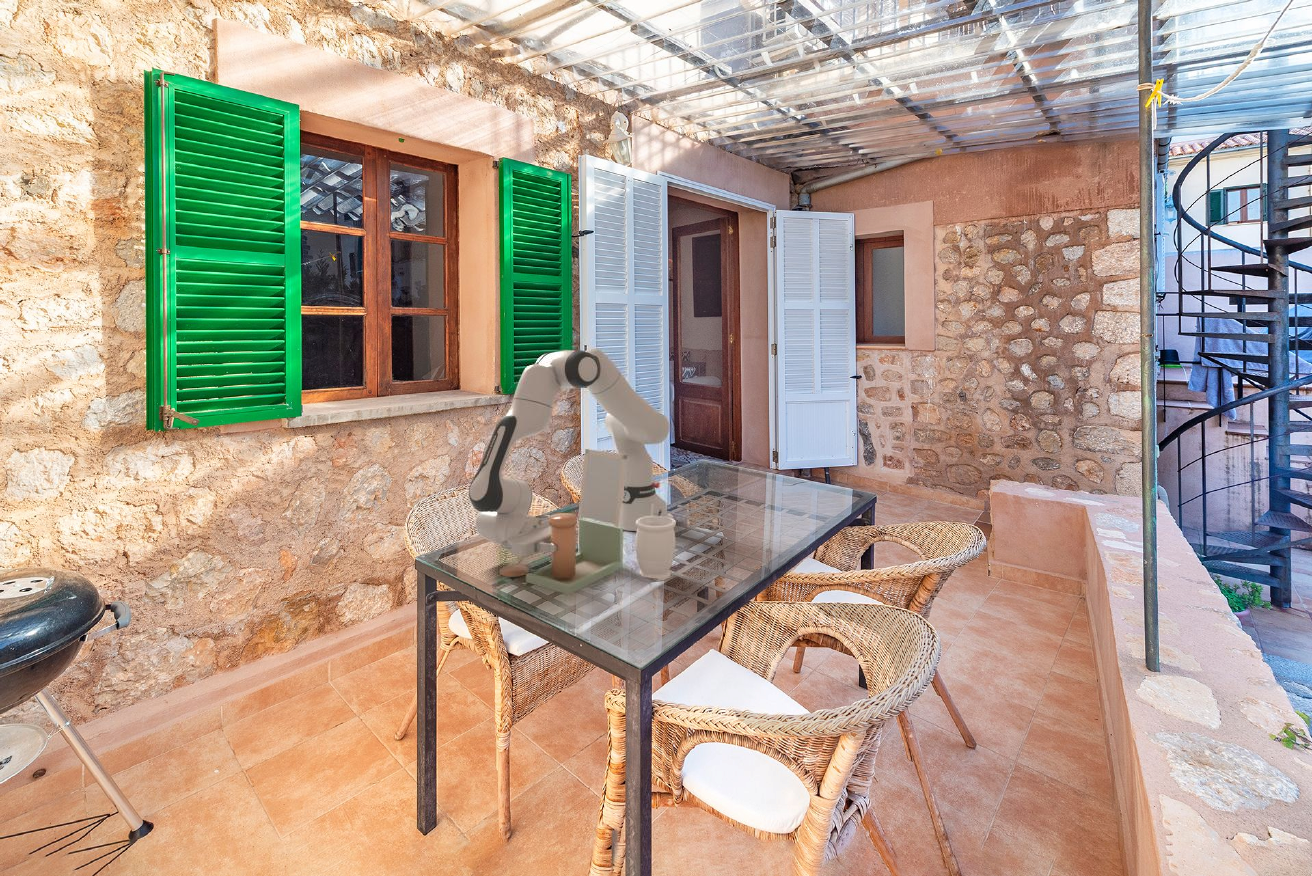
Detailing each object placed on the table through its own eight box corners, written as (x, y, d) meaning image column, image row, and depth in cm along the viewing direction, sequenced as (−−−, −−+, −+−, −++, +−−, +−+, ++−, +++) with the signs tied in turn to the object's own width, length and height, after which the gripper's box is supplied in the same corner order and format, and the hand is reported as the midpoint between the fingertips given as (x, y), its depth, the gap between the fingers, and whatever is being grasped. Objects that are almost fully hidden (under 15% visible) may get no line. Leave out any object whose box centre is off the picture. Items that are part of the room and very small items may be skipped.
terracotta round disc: (514, 567, 172) (514, 562, 172) (535, 573, 168) (535, 568, 168) (493, 575, 166) (493, 571, 166) (514, 582, 162) (514, 577, 162)
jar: (648, 565, 175) (649, 512, 173) (681, 573, 170) (683, 519, 167) (627, 578, 166) (627, 522, 164) (661, 586, 161) (662, 529, 158)
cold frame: (581, 559, 179) (581, 518, 177) (622, 570, 171) (622, 527, 169) (526, 585, 160) (525, 539, 158) (568, 598, 153) (568, 550, 151)
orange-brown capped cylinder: (561, 566, 167) (561, 511, 165) (582, 571, 164) (582, 515, 161) (544, 575, 162) (543, 518, 159) (565, 580, 158) (565, 522, 156)
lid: (577, 517, 175) (579, 517, 175) (618, 526, 168) (619, 526, 168) (585, 448, 174) (587, 449, 175) (626, 455, 167) (627, 455, 168)
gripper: (495, 533, 159) (537, 543, 152) (551, 513, 176) (590, 521, 169) (496, 557, 160) (537, 568, 153) (551, 534, 177) (591, 544, 170)
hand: (566, 544), depth 161 cm, fingers closed on orange-brown capped cylinder, 6 cm apart
